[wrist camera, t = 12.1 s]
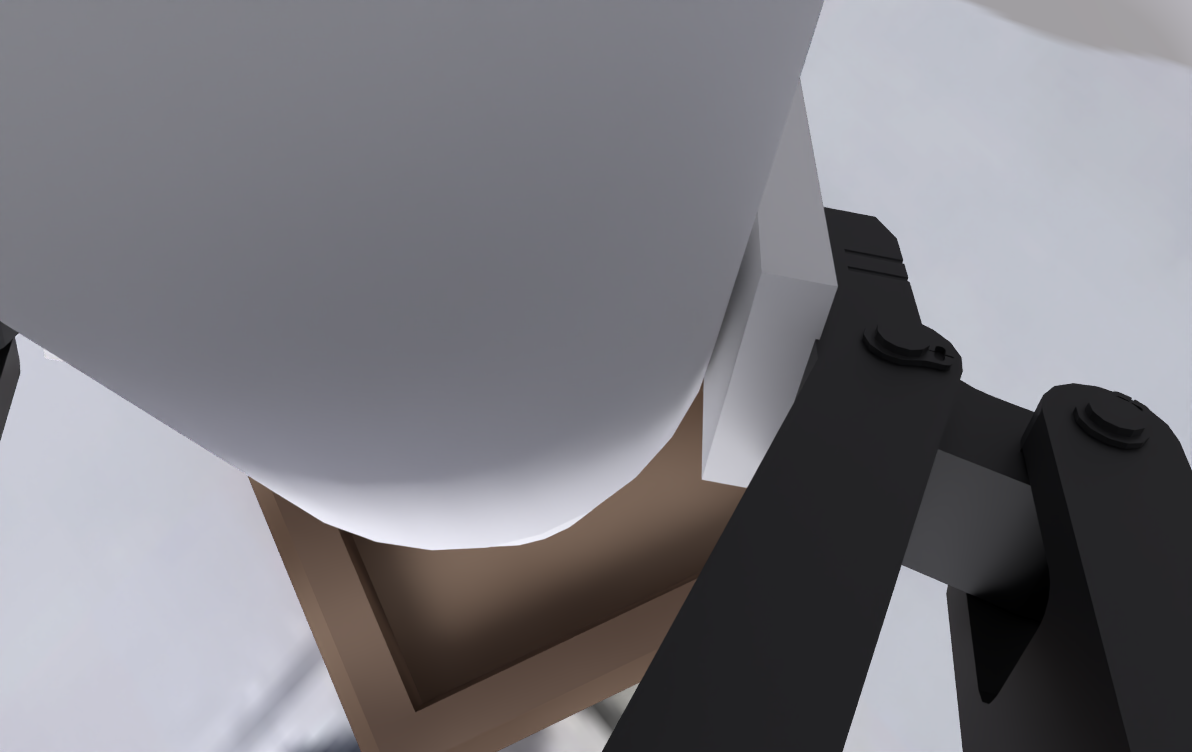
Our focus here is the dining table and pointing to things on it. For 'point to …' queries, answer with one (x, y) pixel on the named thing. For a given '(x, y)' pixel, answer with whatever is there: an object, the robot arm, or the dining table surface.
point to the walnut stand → (504, 609)
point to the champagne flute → (394, 234)
